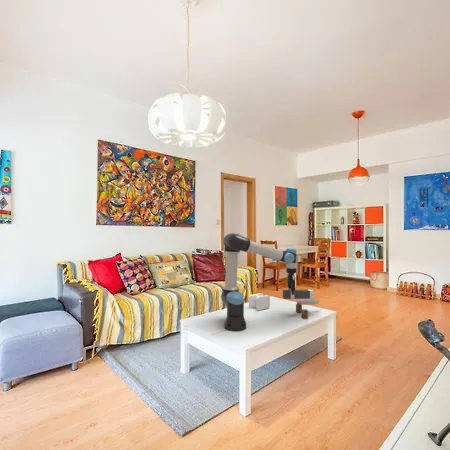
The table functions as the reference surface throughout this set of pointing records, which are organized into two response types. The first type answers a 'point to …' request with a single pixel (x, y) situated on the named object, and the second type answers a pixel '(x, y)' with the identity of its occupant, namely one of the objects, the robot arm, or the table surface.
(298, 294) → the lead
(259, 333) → the table surface
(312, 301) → the latch
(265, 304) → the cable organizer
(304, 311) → the brown wooden bar
